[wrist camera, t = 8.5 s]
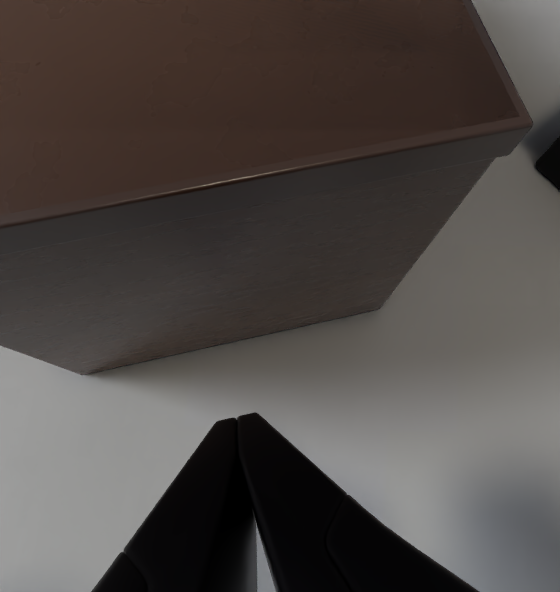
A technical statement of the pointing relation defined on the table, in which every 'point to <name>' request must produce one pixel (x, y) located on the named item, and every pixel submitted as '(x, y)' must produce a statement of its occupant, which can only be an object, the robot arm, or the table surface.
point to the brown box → (229, 164)
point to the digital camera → (551, 163)
